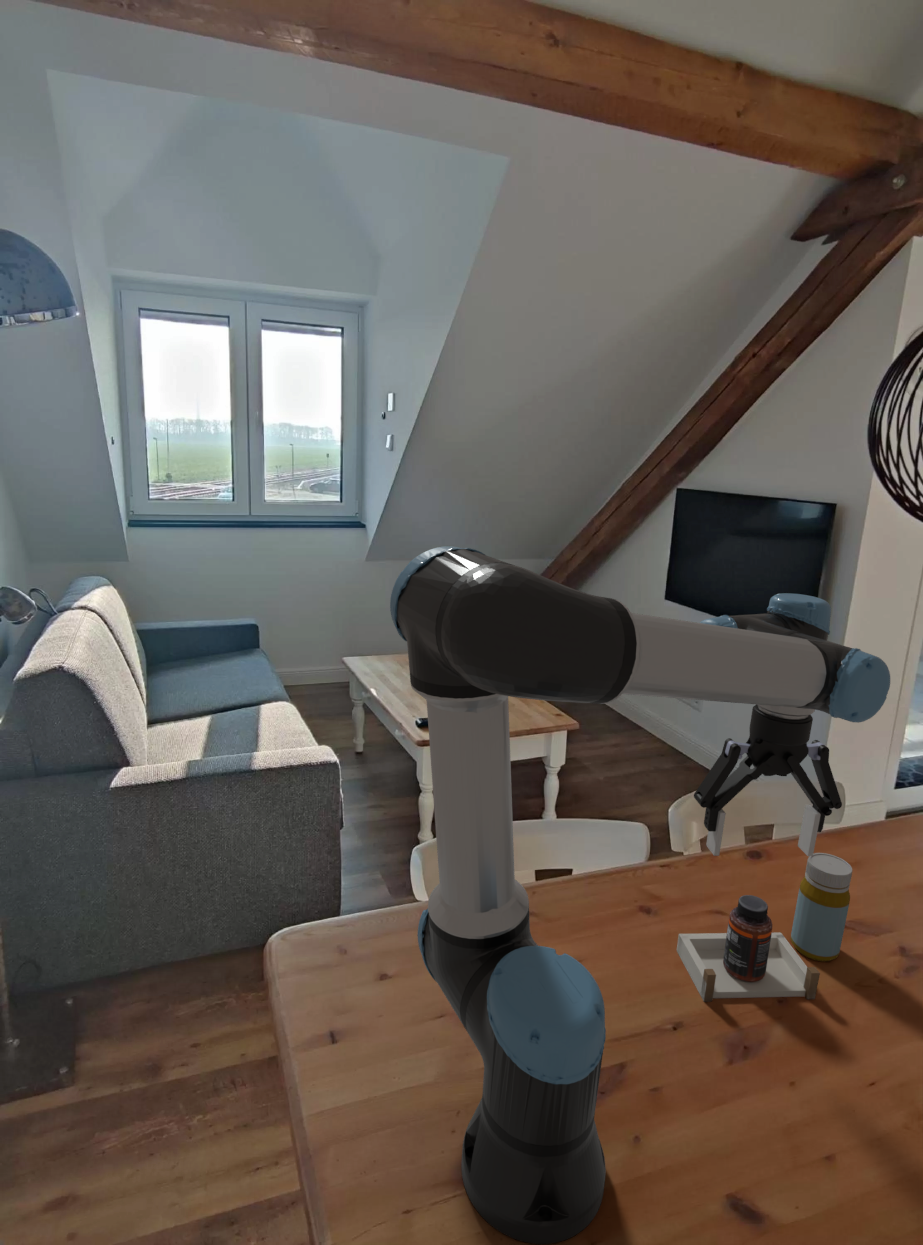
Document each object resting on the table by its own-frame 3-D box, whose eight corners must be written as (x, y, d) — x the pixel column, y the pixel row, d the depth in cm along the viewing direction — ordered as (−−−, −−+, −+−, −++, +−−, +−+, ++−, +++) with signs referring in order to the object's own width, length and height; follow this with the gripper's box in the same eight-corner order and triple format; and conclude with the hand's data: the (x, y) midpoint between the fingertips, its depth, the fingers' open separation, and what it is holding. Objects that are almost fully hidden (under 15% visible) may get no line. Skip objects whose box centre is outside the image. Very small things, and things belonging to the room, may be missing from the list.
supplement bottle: (768, 966, 110) (780, 900, 107) (760, 990, 105) (771, 921, 102) (727, 950, 113) (737, 885, 110) (717, 972, 108) (727, 905, 105)
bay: (814, 999, 105) (819, 973, 104) (703, 1001, 103) (707, 975, 102) (778, 949, 115) (782, 924, 114) (676, 950, 114) (679, 925, 113)
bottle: (780, 939, 117) (794, 855, 114) (812, 930, 120) (827, 848, 117) (815, 968, 111) (832, 880, 108) (848, 957, 114) (866, 871, 110)
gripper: (854, 701, 103) (828, 837, 108) (682, 697, 101) (664, 836, 106) (888, 721, 96) (858, 866, 101) (704, 717, 94) (683, 865, 99)
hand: (759, 851), depth 104 cm, fingers open, 13 cm apart
